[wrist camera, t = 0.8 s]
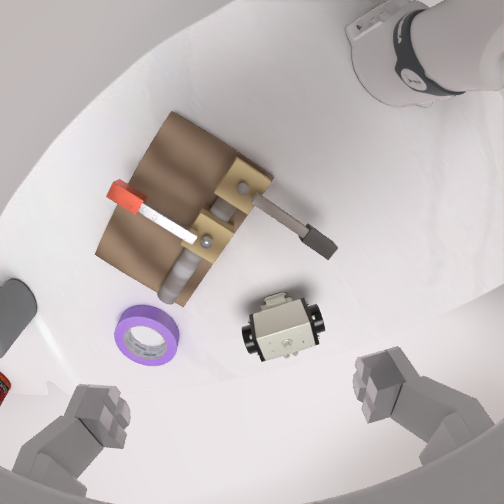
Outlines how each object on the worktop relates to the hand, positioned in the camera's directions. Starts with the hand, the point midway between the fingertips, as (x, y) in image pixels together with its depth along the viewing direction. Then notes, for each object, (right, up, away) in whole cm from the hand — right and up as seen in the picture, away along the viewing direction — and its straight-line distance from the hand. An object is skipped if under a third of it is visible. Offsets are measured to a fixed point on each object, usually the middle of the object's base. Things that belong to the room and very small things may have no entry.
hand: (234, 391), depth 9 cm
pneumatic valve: (+5, -4, +41) cm, 42 cm away
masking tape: (-19, -10, +42) cm, 47 cm away
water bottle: (-48, -5, +38) cm, 62 cm away
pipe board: (-6, +8, +35) cm, 37 cm away
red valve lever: (-10, +9, +26) cm, 30 cm away
